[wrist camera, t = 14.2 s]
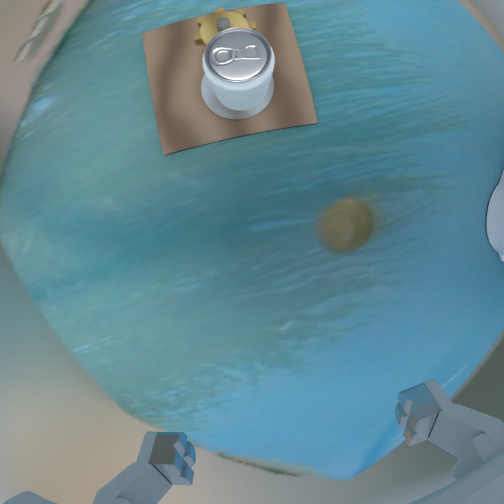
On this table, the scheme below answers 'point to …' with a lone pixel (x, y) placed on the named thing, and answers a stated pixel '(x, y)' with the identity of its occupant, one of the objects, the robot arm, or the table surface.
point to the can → (239, 67)
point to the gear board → (200, 91)
